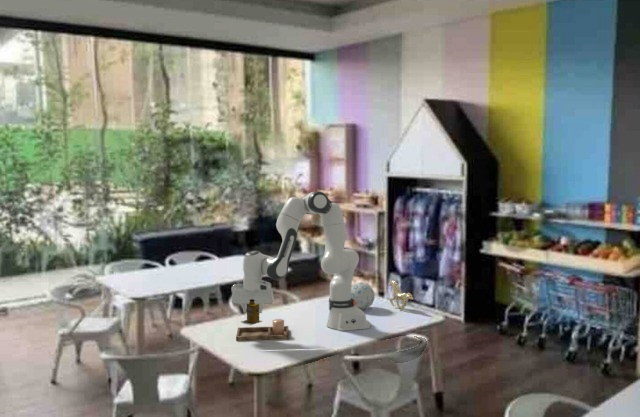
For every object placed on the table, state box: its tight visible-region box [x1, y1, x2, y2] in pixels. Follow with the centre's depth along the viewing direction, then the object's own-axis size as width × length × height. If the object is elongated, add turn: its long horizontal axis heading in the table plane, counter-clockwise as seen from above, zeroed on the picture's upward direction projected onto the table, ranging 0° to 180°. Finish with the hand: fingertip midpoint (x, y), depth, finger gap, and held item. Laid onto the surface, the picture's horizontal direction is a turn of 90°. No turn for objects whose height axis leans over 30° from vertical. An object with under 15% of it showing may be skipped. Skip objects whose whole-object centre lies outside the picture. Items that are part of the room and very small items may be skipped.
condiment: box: [240, 299, 264, 326], centre depth 279 cm, size 7×8×12 cm
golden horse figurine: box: [388, 277, 414, 311], centre depth 324 cm, size 20×4×17 cm, turn 35°
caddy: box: [235, 325, 290, 342], centre depth 280 cm, size 25×14×2 cm, turn 94°
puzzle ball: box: [351, 282, 375, 310], centre depth 325 cm, size 15×15×15 cm
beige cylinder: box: [271, 318, 285, 335], centre depth 280 cm, size 6×6×7 cm
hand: (252, 312), depth 279 cm, fingers closed on condiment, 6 cm apart
